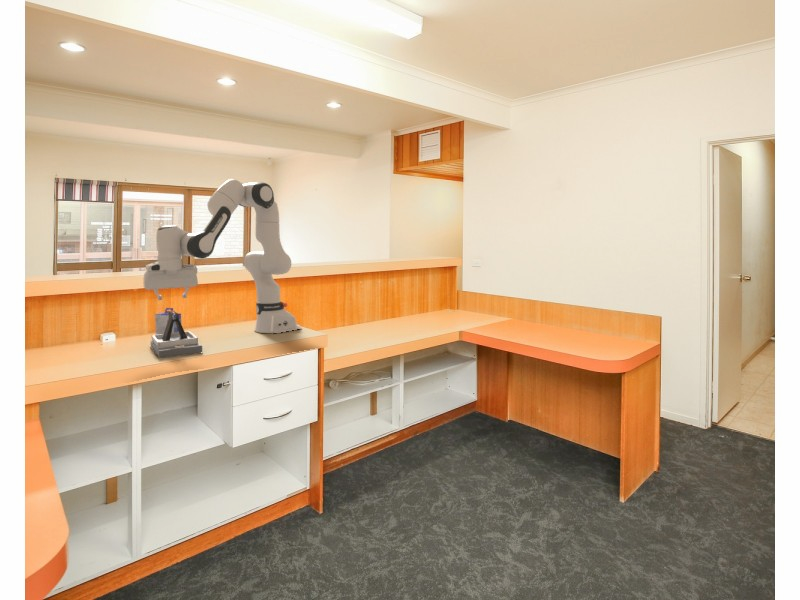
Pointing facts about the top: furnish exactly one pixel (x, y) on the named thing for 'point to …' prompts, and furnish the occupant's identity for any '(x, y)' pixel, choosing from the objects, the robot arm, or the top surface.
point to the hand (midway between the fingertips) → (172, 298)
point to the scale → (175, 345)
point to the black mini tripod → (170, 325)
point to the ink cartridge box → (165, 322)
